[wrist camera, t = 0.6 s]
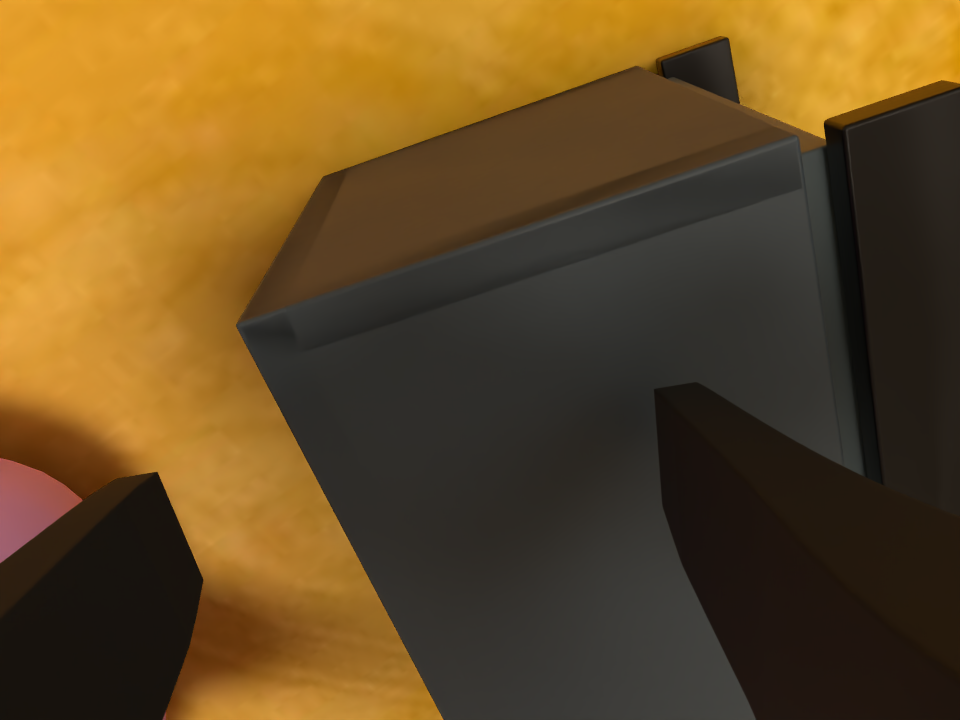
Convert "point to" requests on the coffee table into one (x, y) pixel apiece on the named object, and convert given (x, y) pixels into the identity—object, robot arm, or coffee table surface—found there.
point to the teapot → (29, 505)
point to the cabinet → (606, 362)
